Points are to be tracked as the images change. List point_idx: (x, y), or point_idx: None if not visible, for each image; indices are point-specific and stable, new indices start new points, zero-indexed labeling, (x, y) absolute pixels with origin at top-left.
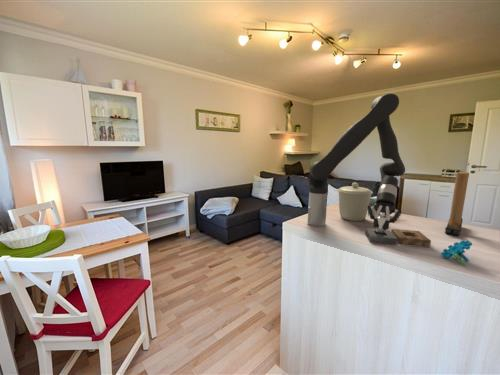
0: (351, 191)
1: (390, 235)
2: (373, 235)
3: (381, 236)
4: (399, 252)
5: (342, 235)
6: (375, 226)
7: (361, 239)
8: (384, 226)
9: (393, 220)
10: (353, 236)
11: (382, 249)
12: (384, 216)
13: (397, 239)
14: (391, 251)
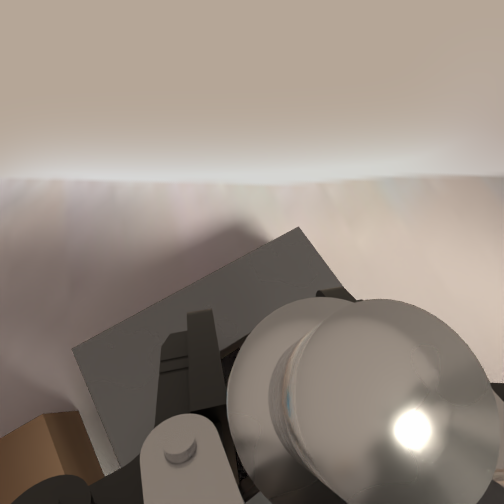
0: None
1: (152, 403)
2: (287, 259)
3: (221, 288)
4: (67, 227)
5: (489, 244)
6: (324, 293)
7: (359, 271)
8: (228, 378)
9: (48, 487)
10: (433, 287)
11: (177, 197)
12: (274, 384)
13: (91, 476)
14: (119, 206)
